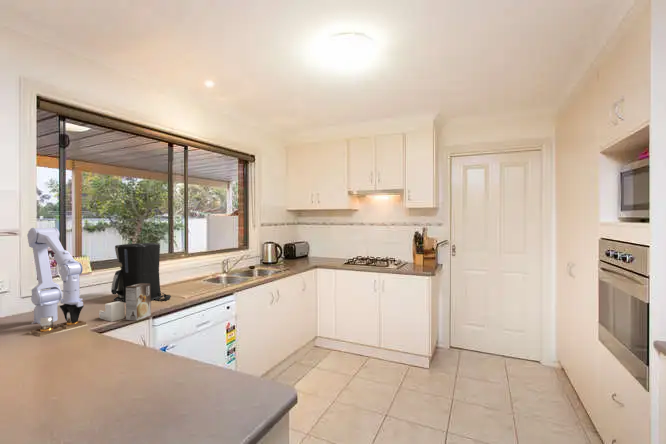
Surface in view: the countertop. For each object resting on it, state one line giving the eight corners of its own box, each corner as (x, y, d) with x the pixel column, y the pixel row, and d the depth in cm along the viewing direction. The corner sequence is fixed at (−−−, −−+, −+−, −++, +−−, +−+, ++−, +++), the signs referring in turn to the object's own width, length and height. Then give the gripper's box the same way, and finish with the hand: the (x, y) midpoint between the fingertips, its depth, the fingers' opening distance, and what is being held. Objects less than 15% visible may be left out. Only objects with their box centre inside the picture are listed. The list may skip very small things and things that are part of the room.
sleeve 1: (38, 332, 138) (38, 318, 138) (50, 329, 142) (50, 315, 142) (43, 334, 137) (43, 319, 137) (55, 331, 140) (55, 316, 140)
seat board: (28, 335, 138) (28, 329, 138) (75, 323, 153) (75, 318, 153) (41, 339, 133) (41, 333, 133) (88, 327, 148) (88, 322, 148)
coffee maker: (124, 295, 211) (123, 242, 211) (178, 293, 216) (178, 241, 216) (105, 304, 189) (105, 244, 189) (166, 301, 194) (166, 243, 194)
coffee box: (140, 315, 167) (139, 282, 167) (151, 315, 166) (151, 283, 166) (125, 320, 158) (125, 286, 158) (137, 321, 157) (136, 287, 157)
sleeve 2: (64, 325, 147) (64, 312, 147) (74, 323, 150) (75, 310, 150) (69, 327, 145) (70, 313, 145) (80, 324, 149) (80, 311, 149)
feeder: (98, 319, 160) (97, 302, 160) (111, 316, 165) (111, 299, 165) (111, 322, 155) (111, 305, 155) (124, 319, 160) (124, 302, 160)
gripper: (90, 290, 147) (91, 320, 148) (73, 287, 154) (73, 316, 154) (72, 293, 141) (72, 325, 141) (54, 290, 148) (55, 320, 148)
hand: (71, 321), depth 147 cm, fingers closed on sleeve 2, 4 cm apart
